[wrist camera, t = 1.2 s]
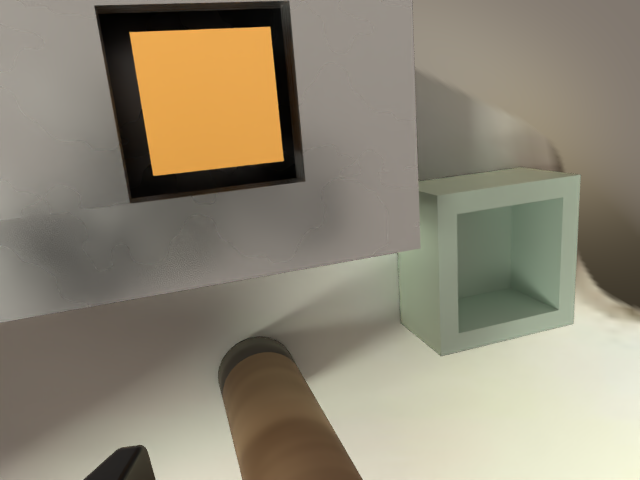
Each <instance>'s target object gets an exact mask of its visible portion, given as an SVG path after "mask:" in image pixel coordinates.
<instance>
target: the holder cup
mask: <svg viewBox="0 0 640 480" xmlns="http://www.w3.org/2000/svg"><path fill="white" fill-rule="evenodd" d="M580 178H581V175H579V174H571V173H563V172H555V171H548V170H540V169H532V168H524V167H519V168H511V169H504V170H497V171H489V172H482V173H474V174H467V175H460V176H452V177H445V178H438V179H430V180H423V181H418V185H419V215H420V245H421V248H420V249H415V250H409V251H403V252H398V272H399V294H400V316H401V324H402V325H404V326H405V327H406V328H407V329H408V330H410V331H411V332H412V333H413V334H415V335H416V336H417V337H418V338H419V339H421V340H422V341H423V342H424V343H425V344H427V345H428V346H429V347H430V348H432V349H433V350H434V351H435V352H436V353H438V354H439V355H440V356H444V355H449V354H453V353H457V352H461V351H465V350H469V349H473V348H477V347H481V346H485V345H489V344H493V343H498V342H502V341H506V340H510V339H514V338H518V337H522V336H526V335H530V334H534V333H538V332H542V331H547V330H551V329H555V328H559V327H563V326H567V325H571V324H573V322H574V302H575V281H576V261H577V240H578V239H577V238H578V219H579V199H580Z"/></svg>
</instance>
